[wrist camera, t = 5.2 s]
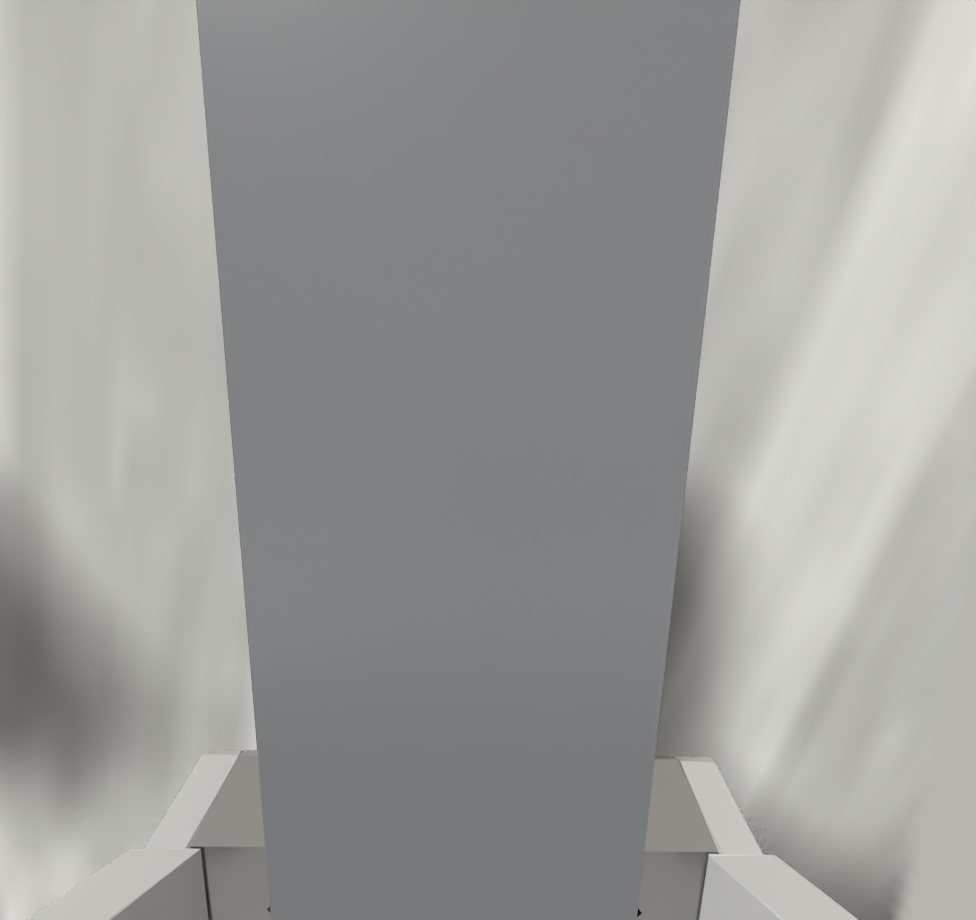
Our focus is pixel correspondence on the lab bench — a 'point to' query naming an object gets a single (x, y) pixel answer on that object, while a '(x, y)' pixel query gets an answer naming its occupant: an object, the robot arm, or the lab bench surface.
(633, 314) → the pin bar
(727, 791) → the robot arm
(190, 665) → the lab bench surface
